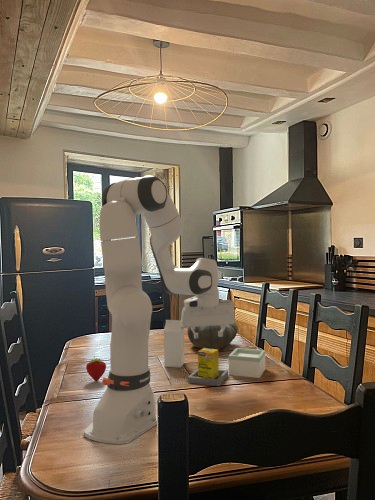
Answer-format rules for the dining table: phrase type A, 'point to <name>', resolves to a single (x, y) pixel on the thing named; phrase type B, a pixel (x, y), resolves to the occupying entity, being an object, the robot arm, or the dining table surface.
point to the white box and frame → (237, 366)
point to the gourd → (212, 336)
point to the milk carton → (173, 344)
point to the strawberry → (96, 368)
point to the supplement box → (208, 363)
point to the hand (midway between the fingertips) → (208, 337)
